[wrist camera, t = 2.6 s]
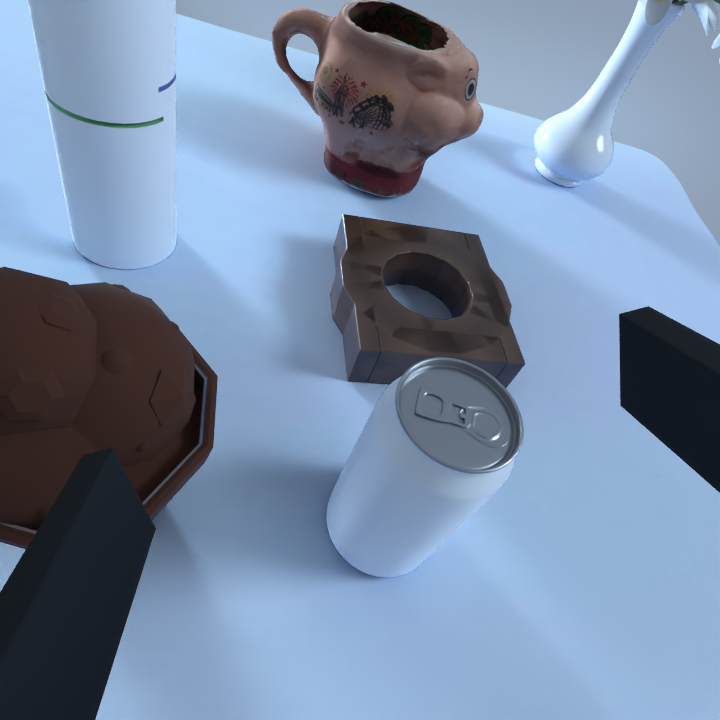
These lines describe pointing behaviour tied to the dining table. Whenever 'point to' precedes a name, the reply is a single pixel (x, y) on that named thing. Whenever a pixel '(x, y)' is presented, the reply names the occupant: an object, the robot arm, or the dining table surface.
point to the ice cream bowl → (94, 395)
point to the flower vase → (607, 97)
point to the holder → (408, 329)
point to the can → (423, 465)
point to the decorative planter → (383, 90)
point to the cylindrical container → (113, 122)
